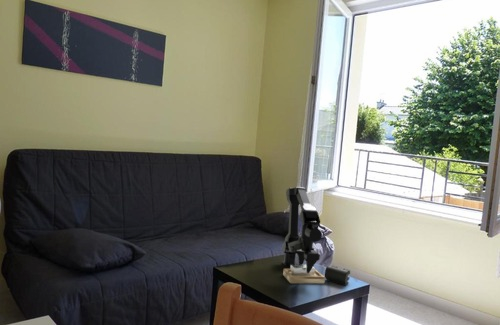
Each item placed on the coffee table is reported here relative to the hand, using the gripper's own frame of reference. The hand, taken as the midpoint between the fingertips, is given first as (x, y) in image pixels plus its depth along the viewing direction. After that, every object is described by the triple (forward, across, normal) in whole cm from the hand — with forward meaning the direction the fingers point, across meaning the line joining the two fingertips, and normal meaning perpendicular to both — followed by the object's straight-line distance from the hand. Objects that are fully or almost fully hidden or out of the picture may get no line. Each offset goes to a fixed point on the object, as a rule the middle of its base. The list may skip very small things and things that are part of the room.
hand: (304, 269), depth 180 cm
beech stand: (+4, 0, 0) cm, 4 cm away
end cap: (+5, +4, +15) cm, 16 cm away
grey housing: (+2, 0, -1) cm, 3 cm away
